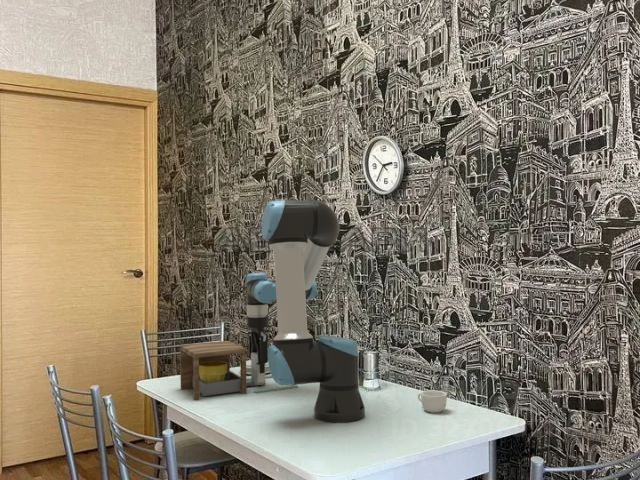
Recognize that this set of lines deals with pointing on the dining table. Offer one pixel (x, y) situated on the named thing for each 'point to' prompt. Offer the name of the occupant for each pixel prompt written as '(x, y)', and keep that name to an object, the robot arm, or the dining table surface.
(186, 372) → the tunnel
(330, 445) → the dining table surface
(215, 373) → the plant pot
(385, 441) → the dining table surface
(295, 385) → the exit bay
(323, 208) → the robot arm
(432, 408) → the teacup
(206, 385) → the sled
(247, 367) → the lid
